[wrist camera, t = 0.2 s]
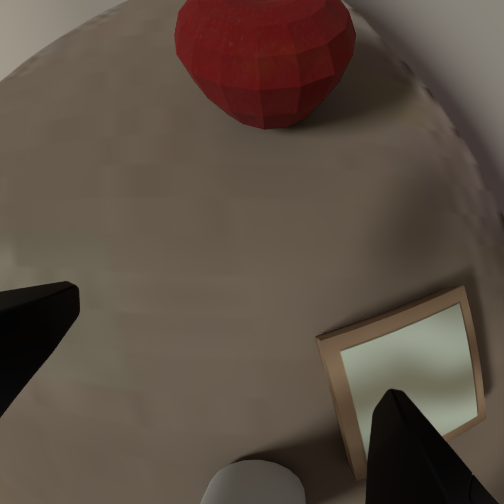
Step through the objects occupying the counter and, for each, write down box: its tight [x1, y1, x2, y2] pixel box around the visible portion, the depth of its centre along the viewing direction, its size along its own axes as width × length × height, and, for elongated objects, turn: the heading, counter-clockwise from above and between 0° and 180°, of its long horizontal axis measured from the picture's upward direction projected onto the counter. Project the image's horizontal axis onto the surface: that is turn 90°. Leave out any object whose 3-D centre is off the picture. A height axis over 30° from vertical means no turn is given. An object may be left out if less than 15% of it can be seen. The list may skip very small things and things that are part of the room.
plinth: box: [315, 285, 486, 482], centre depth 18 cm, size 11×11×3 cm
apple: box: [174, 0, 356, 129], centre depth 19 cm, size 12×12×13 cm
